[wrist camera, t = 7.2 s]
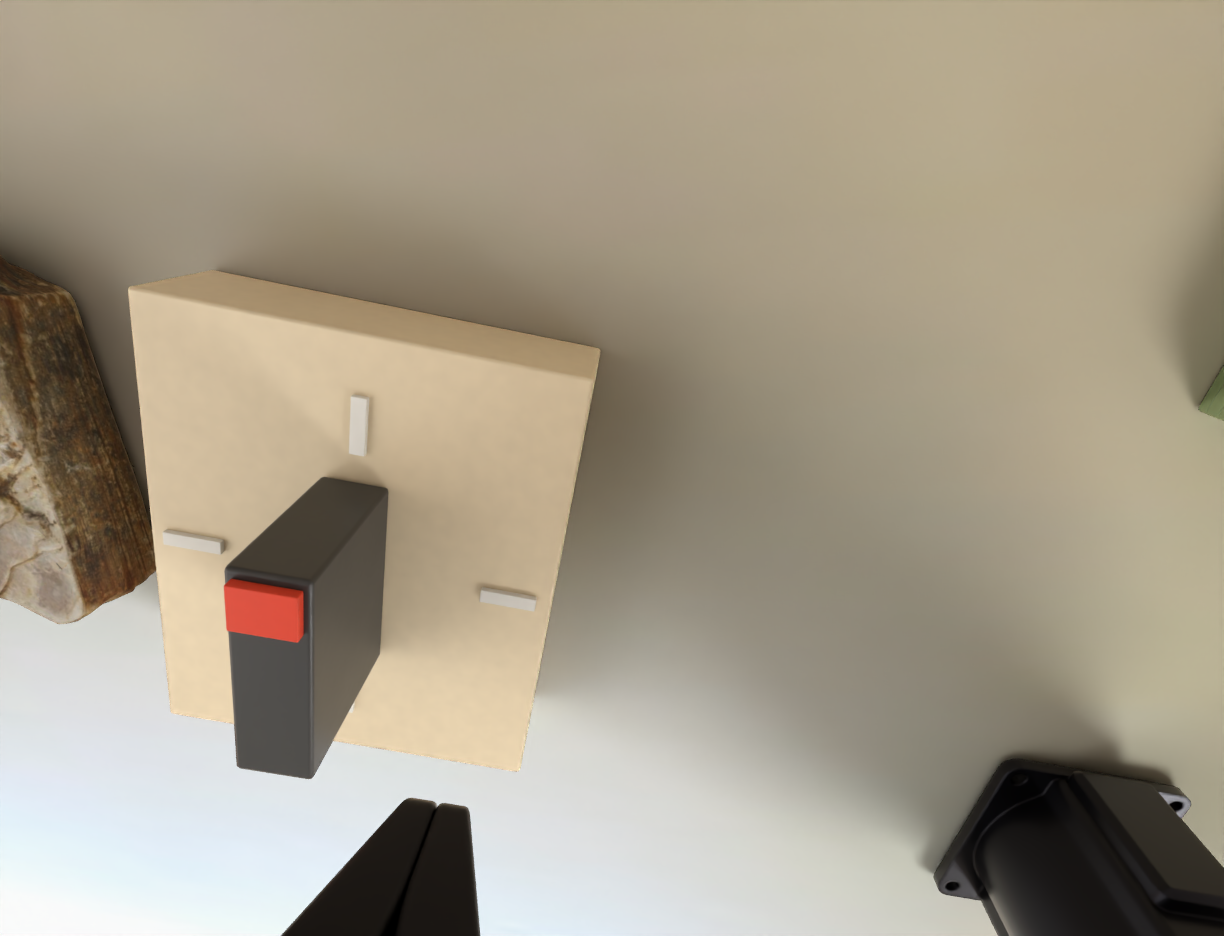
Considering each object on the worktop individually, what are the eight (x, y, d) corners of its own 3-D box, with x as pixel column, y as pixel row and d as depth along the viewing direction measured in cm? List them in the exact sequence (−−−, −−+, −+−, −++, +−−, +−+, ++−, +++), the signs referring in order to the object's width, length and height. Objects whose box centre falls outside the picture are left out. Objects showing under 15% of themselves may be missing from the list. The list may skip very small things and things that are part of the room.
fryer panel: (533, 698, 22) (518, 778, 19) (229, 645, 21) (165, 718, 18) (601, 348, 17) (594, 381, 14) (210, 268, 16) (119, 286, 13)
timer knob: (381, 654, 17) (306, 792, 13) (320, 644, 17) (228, 779, 13) (390, 486, 15) (306, 590, 11) (321, 474, 15) (213, 574, 11)
